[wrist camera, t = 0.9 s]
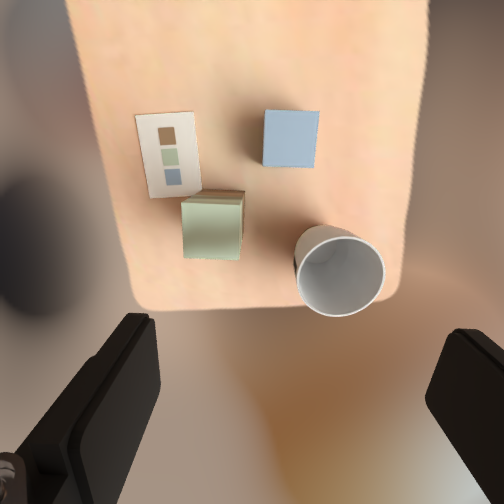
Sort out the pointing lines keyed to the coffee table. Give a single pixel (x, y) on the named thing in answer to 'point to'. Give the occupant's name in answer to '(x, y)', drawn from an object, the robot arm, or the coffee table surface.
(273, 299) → the coffee table surface
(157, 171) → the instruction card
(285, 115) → the blue brick
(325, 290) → the cup
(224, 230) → the tower base
